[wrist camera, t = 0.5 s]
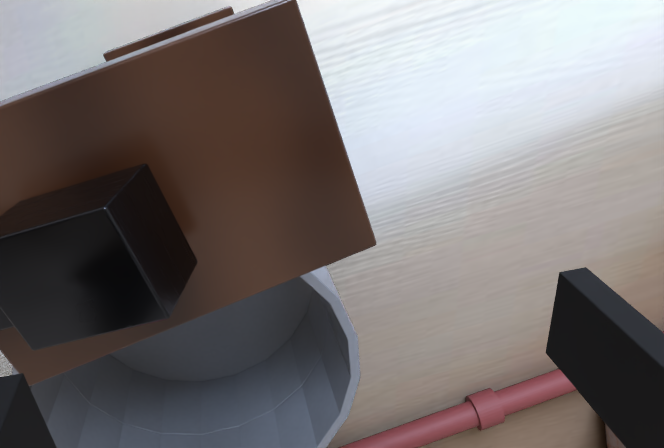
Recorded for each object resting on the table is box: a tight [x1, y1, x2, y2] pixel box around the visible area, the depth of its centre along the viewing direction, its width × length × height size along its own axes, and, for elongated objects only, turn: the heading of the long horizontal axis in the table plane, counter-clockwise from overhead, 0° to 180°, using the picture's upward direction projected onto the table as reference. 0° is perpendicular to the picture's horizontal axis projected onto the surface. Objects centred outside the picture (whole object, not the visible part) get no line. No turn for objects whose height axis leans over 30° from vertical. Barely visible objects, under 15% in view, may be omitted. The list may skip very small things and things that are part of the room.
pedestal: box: [0, 0, 376, 386], centre depth 25 cm, size 12×8×21 cm, turn 109°
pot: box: [12, 266, 360, 448], centre depth 35 cm, size 18×18×12 cm
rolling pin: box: [339, 331, 664, 448], centre depth 50 cm, size 45×3×3 cm, turn 104°
